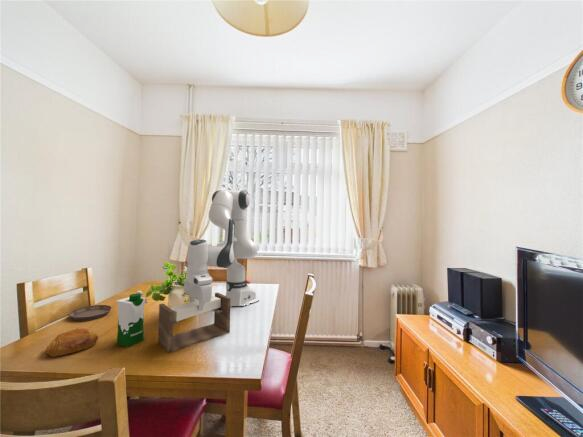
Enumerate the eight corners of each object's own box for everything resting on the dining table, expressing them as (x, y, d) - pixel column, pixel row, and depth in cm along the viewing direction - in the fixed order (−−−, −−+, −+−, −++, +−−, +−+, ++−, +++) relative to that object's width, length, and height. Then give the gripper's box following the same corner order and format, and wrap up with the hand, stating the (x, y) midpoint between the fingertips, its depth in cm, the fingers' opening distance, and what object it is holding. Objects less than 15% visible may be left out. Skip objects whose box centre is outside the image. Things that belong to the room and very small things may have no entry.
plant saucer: (119, 312, 140) (119, 307, 140) (84, 324, 123) (84, 318, 123) (96, 308, 145) (96, 303, 145) (60, 319, 128) (60, 313, 128)
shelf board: (212, 304, 123) (212, 296, 123) (220, 307, 120) (220, 298, 120) (168, 318, 105) (168, 308, 105) (176, 321, 102) (176, 311, 102)
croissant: (97, 353, 101) (101, 333, 102) (44, 362, 91) (49, 339, 91) (93, 339, 112) (97, 321, 112) (45, 346, 101) (49, 325, 102)
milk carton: (127, 348, 101) (128, 298, 101) (112, 344, 104) (113, 295, 105) (147, 339, 109) (148, 292, 109) (132, 335, 113) (133, 290, 113)
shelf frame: (216, 324, 126) (217, 292, 126) (229, 332, 118) (230, 298, 118) (158, 342, 107) (159, 304, 107) (168, 353, 99) (169, 311, 99)
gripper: (180, 273, 118) (180, 303, 118) (200, 282, 103) (199, 316, 103) (194, 271, 122) (193, 300, 122) (214, 279, 108) (213, 312, 108)
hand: (196, 307), depth 113 cm, fingers closed on shelf board, 6 cm apart
